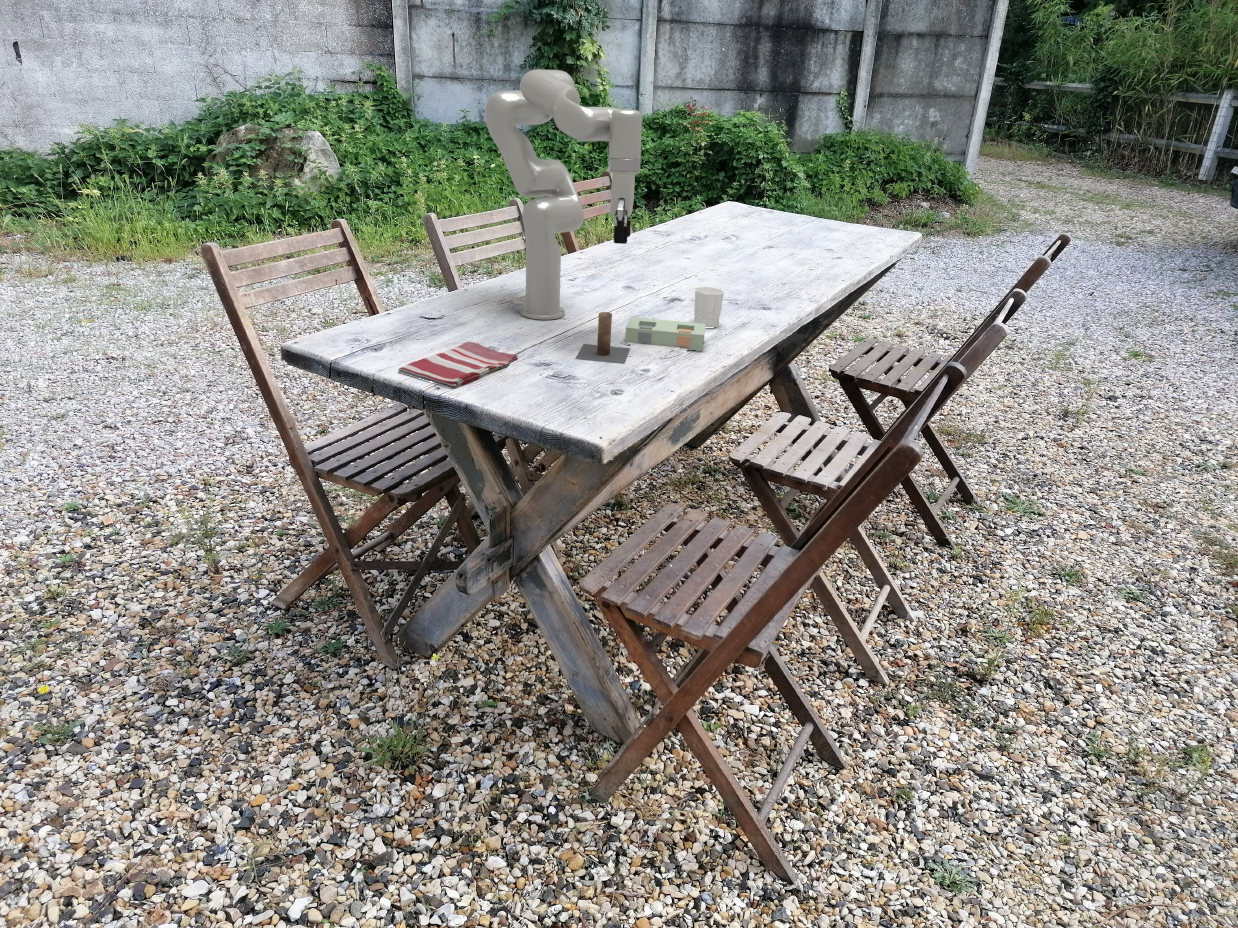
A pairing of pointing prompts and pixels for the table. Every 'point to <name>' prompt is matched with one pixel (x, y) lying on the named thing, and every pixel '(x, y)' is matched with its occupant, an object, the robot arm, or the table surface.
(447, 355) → the dish towel
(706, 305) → the white cup
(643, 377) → the table surface
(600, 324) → the dowel
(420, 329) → the table surface
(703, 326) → the socket block
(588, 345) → the mat
